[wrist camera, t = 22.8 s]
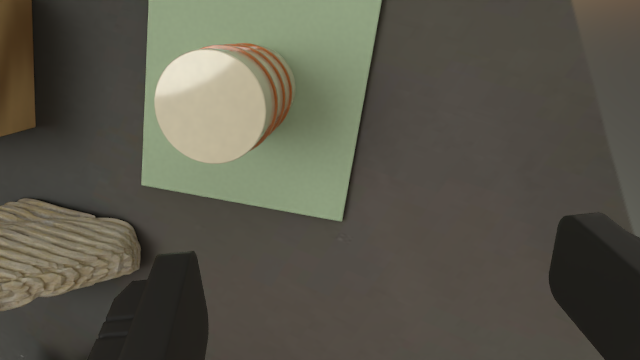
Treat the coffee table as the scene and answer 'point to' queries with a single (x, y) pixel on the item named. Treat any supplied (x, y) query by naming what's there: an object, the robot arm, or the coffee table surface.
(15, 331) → the coffee table surface
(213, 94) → the banded jar
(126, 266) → the fossil tooth
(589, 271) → the robot arm
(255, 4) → the mat
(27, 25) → the stand
